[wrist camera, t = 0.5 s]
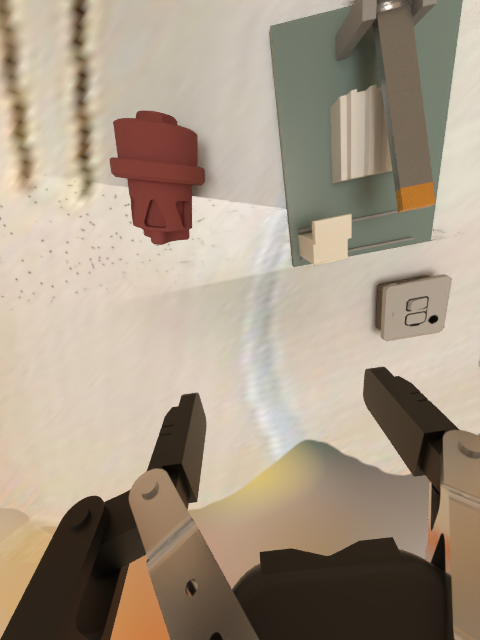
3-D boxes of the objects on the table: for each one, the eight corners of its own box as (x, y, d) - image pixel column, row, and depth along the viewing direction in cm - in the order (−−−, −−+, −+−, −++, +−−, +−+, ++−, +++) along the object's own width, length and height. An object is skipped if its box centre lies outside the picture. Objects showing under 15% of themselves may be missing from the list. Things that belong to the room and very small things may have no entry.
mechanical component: (207, 235, 35) (198, 252, 27) (138, 229, 35) (106, 244, 26) (209, 130, 29) (198, 108, 21) (126, 121, 29) (78, 94, 20)
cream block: (296, 219, 33) (314, 221, 26) (325, 213, 33) (351, 214, 26) (299, 255, 35) (316, 266, 28) (326, 250, 35) (351, 260, 28)
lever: (359, -17, 23) (371, -54, 20) (395, -26, 23) (412, -64, 20) (391, 216, 24) (406, 206, 22) (425, 209, 24) (444, 199, 22)
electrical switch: (444, 331, 38) (391, 347, 37) (416, 319, 42) (368, 333, 42) (454, 274, 34) (396, 289, 33) (422, 268, 39) (370, 281, 38)
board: (269, 32, 26) (280, -26, 20) (457, -15, 25) (533, -92, 19) (292, 265, 37) (304, 276, 30) (425, 240, 36) (467, 245, 29)
